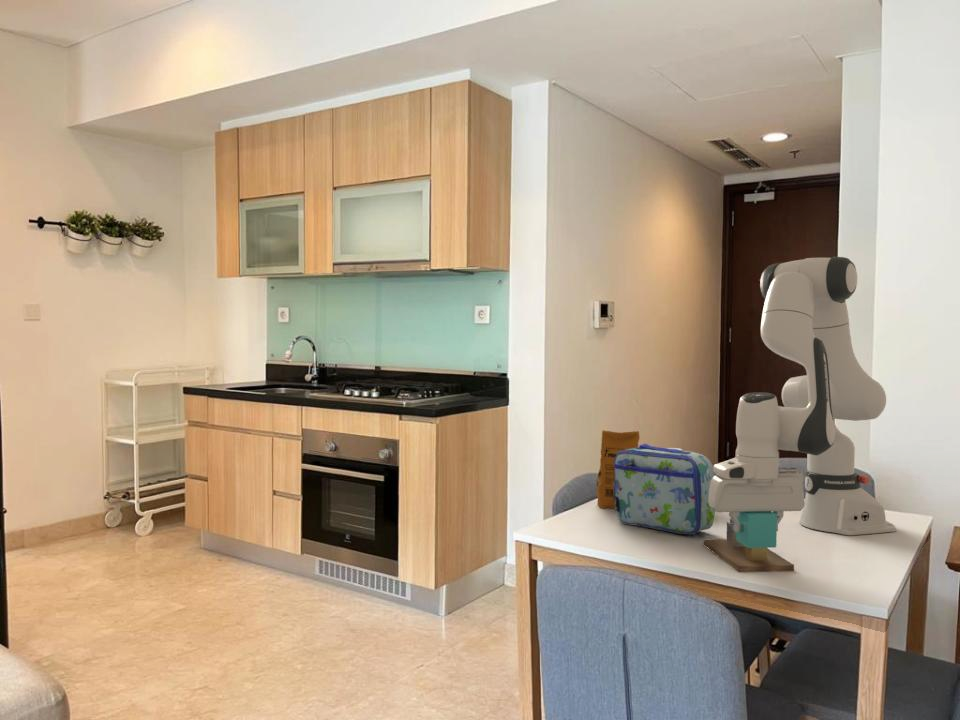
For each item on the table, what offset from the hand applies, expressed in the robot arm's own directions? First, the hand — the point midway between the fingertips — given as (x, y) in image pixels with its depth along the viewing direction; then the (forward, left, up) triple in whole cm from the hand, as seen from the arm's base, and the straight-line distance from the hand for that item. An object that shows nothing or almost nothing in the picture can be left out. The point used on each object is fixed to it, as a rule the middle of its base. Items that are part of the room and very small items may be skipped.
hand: (755, 531), depth 161 cm
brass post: (0, 0, -6) cm, 6 cm away
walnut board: (0, -5, -7) cm, 9 cm away
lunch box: (+11, -31, -8) cm, 34 cm away
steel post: (0, -10, -6) cm, 12 cm away
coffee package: (+16, -55, -7) cm, 58 cm away
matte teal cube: (0, 0, -3) cm, 3 cm away
